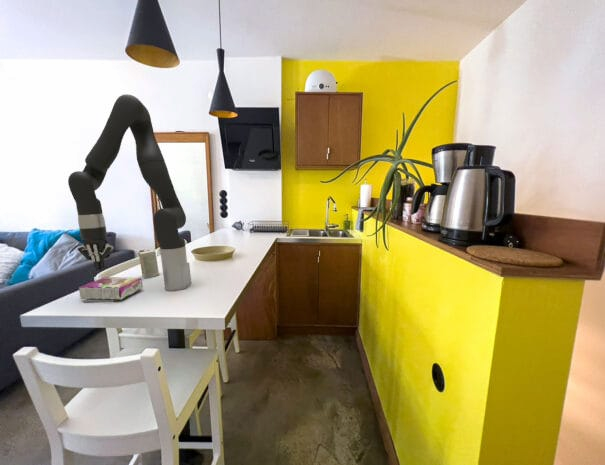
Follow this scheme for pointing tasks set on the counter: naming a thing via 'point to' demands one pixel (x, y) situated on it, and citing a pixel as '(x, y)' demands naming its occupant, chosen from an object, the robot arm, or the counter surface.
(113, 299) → the felt pad
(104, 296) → the candy bar box
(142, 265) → the skincare box
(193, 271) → the counter surface
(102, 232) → the robot arm
